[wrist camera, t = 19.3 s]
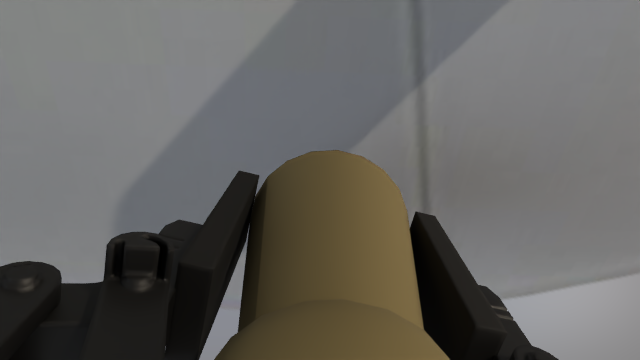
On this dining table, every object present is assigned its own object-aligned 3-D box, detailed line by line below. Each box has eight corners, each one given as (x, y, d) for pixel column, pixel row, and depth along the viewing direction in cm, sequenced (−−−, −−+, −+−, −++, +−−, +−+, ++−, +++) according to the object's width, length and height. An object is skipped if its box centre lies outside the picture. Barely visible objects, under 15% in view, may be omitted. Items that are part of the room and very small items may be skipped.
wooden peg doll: (434, 251, 16) (633, 635, 6) (302, 317, 17) (265, 742, 7) (360, 119, 15) (446, 311, 4) (219, 199, 16) (1, 517, 5)
